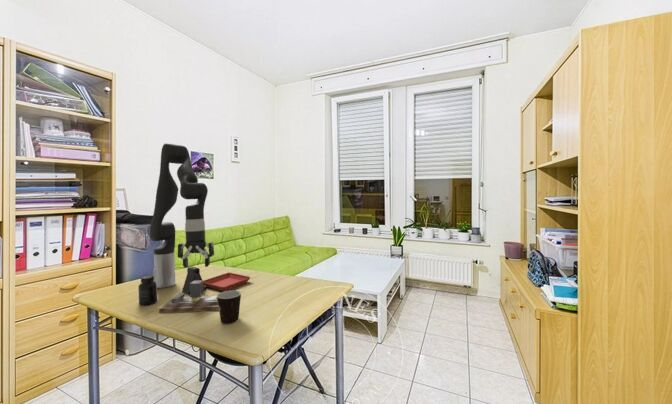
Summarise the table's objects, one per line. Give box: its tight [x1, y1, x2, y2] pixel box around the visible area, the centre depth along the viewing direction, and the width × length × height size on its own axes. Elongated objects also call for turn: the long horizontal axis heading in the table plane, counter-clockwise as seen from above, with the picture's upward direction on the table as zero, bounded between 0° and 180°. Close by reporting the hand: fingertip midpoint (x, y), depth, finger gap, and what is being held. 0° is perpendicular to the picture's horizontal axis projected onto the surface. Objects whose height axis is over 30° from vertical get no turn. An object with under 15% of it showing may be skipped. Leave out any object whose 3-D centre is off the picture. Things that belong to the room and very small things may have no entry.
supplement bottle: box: [137, 274, 158, 307], centre depth 126 cm, size 7×7×12 cm
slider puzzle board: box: [158, 292, 219, 313], centre depth 124 cm, size 28×13×4 cm, turn 95°
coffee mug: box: [216, 290, 242, 325], centre depth 108 cm, size 12×9×10 cm
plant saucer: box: [203, 272, 252, 292], centre depth 152 cm, size 18×18×3 cm
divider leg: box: [189, 279, 205, 302], centre depth 124 cm, size 4×7×8 cm, turn 5°
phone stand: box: [181, 266, 207, 296], centre depth 141 cm, size 9×6×12 cm, turn 146°
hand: (196, 266), depth 123 cm, fingers open, 8 cm apart
